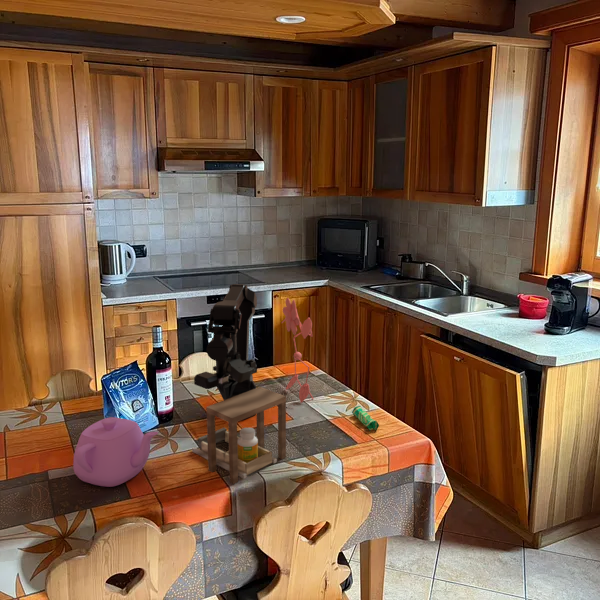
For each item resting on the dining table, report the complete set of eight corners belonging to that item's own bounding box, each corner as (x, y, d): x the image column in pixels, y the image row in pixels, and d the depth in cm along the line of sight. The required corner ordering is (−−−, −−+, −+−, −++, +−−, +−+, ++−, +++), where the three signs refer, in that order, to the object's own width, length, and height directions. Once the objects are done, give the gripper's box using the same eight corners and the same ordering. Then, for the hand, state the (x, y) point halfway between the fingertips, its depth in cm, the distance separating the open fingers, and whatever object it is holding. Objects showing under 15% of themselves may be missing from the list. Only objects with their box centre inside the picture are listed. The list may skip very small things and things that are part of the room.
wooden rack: (199, 450, 169) (198, 438, 168) (224, 439, 176) (223, 427, 175) (246, 475, 156) (246, 462, 155) (272, 462, 163) (272, 449, 162)
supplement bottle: (242, 470, 159) (241, 436, 157) (234, 461, 163) (234, 428, 161) (261, 466, 161) (260, 432, 159) (253, 457, 166) (252, 424, 164)
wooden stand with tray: (181, 455, 166) (179, 394, 162) (234, 433, 180) (232, 376, 176) (233, 484, 152) (232, 418, 148) (285, 457, 166) (285, 396, 162)
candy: (381, 427, 183) (374, 418, 181) (372, 434, 182) (365, 425, 181) (364, 412, 194) (358, 403, 192) (356, 418, 193) (350, 409, 192)
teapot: (52, 490, 149) (47, 434, 145) (108, 452, 168) (104, 402, 165) (129, 510, 141) (125, 451, 137) (178, 468, 160) (176, 415, 156)
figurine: (296, 381, 222) (295, 288, 213) (325, 408, 198) (324, 305, 190) (257, 387, 216) (253, 292, 208) (281, 416, 193) (279, 310, 184)
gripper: (219, 363, 154) (221, 420, 157) (270, 347, 167) (270, 400, 171) (191, 354, 161) (193, 409, 164) (243, 339, 175) (243, 390, 178)
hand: (227, 402), depth 169 cm, fingers closed
